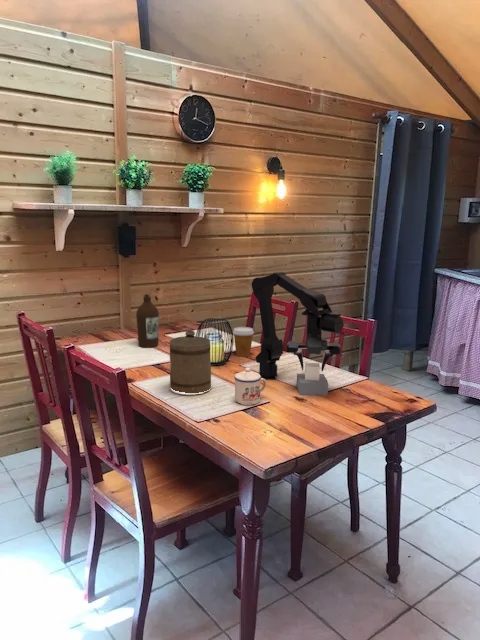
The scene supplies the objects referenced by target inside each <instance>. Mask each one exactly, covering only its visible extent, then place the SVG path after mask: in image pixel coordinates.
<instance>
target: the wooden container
mask: <svg viewBox="0 0 480 640" xmlns="http://www.w3.org/2000/svg"><path fill="white" fill-rule="evenodd" d="M195 334H196V333H195V331H194V330H193V329H188V330H186V331H185V335H184V336H178V337H174V338H172V339H169V383H170V384H169V385H170V387H171V388H172V389H173V390H175V391H179V392H185V393H199V392H204V391H207V390H209V389H210V388H211V389H212V365H211V364H212V363H211V340H210V339H209V338H206V337H204V336H195ZM211 389H210V390H211Z"/></svg>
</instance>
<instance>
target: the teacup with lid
mask: <svg viewBox="0 0 480 640" xmlns="http://www.w3.org/2000/svg"><path fill="white" fill-rule="evenodd" d="M262 381H263V384H262V387H261V382H262ZM266 387H267V379H264V378H261V376H260V374H259V372H255V371H253V370H252V369H251V367H245V368H244V370H242V371H240V372H237V373H235V375H234V402H236V401H237V402H238V403H241V404H240V405H242V404H247V405H246V406H253V404H254V405H256V404H258V403H260V401H261V393H262V392H264V391H265V390H266ZM237 402H236V403H237ZM238 403H237V404H238Z"/></svg>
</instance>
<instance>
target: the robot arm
mask: <svg viewBox="0 0 480 640" xmlns="http://www.w3.org/2000/svg"><path fill="white" fill-rule="evenodd" d="M276 286H279V287H280V288H282V289H283V290H284V291H286V292H287V293H289V294H291V295H293V296H294V297H295V298H297V300H299V302H300V304H301V305H302V306H303V307H304V308H305V310H304V311H303V312H301V315H302V316H306V323H305V324H306V326H305V344H303V343H302V344H299V341H298V340H297V341H295V340H293V341H292V340H289V341H287V344H286V345H287V346H286V347H287V348H286V352H287V353H293V355H294V356H295V355H296V356H297V358H298V360H299V363H300V368H301V370H302V371H304V359H303V358H304V357H303V350H304V351H306V354H308V355H313V354H314V355H321V353H322V351H323V356H322V362H321V370H320V372H323V371H324V369H325V367H326V364H327V362H328V360H329V359H330V357H334V355H341V345H340V344H339V343H338V342H328V340H327V339H323V332H326V333H332V334H338V335H339V334H340V333H341V332H342V331H343V328H344V323H345V322H344V319H343V318H342V317H341V313H339V312H338V313H335V312H333V310H332V309H331V306H330V305H329V303H328V301H327V297H326V295H325V294H324V293H322V292H319V291H317V290H313V289H310V288H307V287H305V286H304V285H302V284H301V283H299V282H297V281H296V280H294V279H293V278H292V277H289V275H287V274H286V273H285V272H283V271H279V272H273V273H271V274H269V275H268V274H267V275H264V276H259V277H254V278H253V279H252V281H251V289H252V293H253V295H254V297H255V298H256V299H257V301H258V308H259V313H260V321H261V328H262V336H263V337H262V339H261V340H262V341H261V344H260V352H259V353H258V354H256V356H255V357H254V358H255V362H256V363H257V364H259V372H258V374H260V376H261V378H264V379H265V380H267V379H268V380H275V379H276V378H277V377H278V364H277V362H278V361H280V358H281V357H282V355H283V352H284V350H285V348H284V345H283V344H284V341H283V339H280V338H279V337H278V336H277V332H276V325H275V318H274V317H275V316H274V309H273V303H272V297H273V294H274V292H275V290H274V289H275V288H274V287H276Z"/></svg>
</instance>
